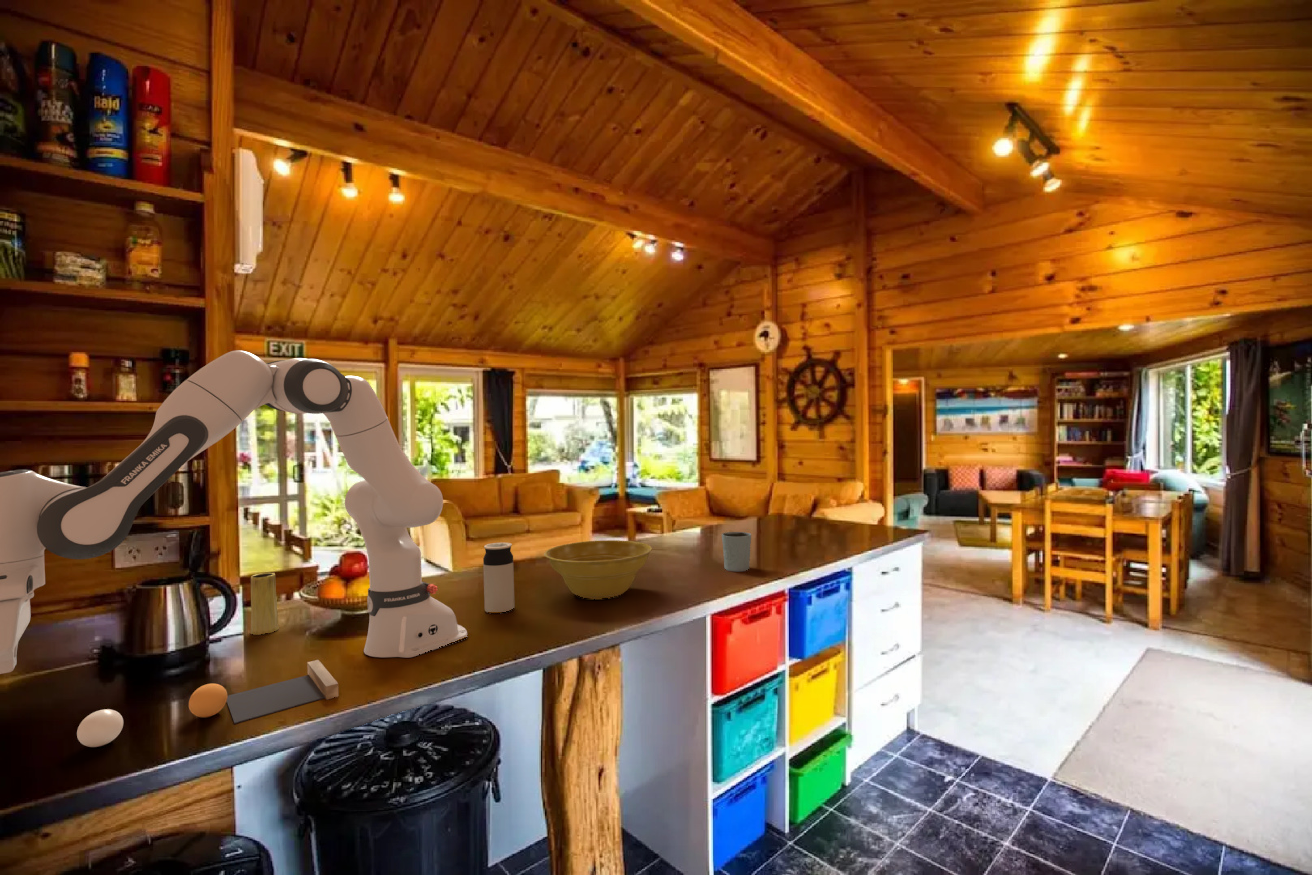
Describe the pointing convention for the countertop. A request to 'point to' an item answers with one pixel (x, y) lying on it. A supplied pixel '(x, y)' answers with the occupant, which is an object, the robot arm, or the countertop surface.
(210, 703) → the orange egg
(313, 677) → the pine strip
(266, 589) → the vase
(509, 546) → the travel mug
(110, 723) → the white egg
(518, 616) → the countertop surface
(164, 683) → the countertop surface
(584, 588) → the planter bowl
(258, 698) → the dark gray mat
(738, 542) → the grey cup
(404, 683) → the countertop surface
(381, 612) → the robot arm
